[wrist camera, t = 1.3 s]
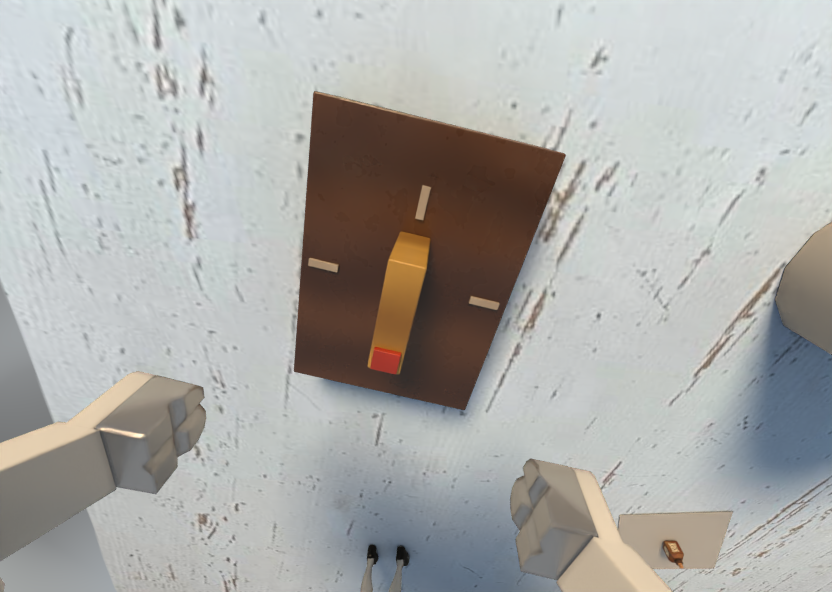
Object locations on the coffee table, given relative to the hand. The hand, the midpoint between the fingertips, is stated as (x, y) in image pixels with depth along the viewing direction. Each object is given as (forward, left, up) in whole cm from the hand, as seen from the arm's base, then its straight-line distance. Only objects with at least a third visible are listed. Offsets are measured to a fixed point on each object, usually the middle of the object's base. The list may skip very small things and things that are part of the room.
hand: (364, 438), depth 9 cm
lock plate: (0, 0, -12) cm, 12 cm away
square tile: (+19, +26, -12) cm, 34 cm away
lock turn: (0, 0, -9) cm, 9 cm away
